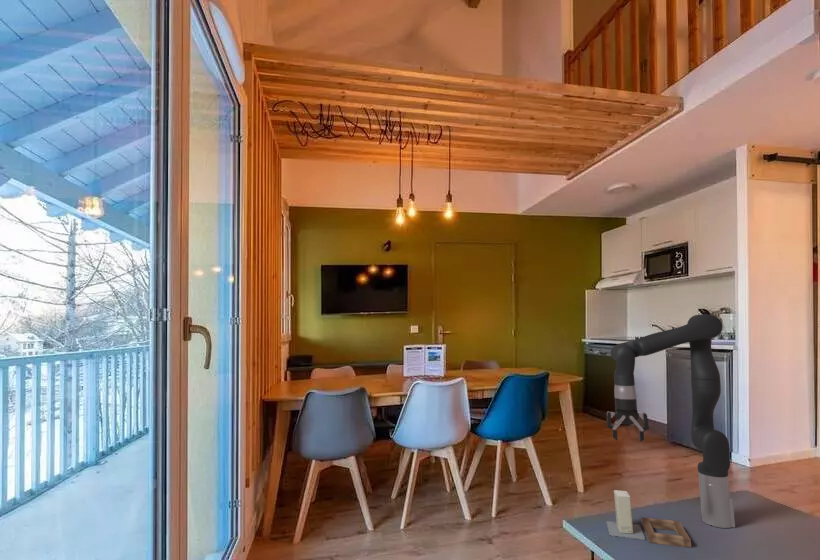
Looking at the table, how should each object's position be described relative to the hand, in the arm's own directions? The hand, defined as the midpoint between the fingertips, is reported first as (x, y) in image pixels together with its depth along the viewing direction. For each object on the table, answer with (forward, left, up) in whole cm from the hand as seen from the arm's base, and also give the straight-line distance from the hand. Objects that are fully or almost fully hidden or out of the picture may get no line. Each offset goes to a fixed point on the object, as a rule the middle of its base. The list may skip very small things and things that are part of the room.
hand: (628, 440), depth 167 cm
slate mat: (+5, +12, -28) cm, 31 cm away
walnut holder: (-8, +12, -28) cm, 32 cm away
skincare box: (+5, +12, -28) cm, 31 cm away
